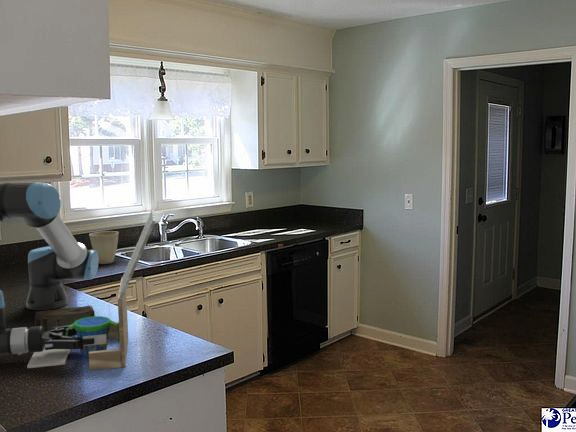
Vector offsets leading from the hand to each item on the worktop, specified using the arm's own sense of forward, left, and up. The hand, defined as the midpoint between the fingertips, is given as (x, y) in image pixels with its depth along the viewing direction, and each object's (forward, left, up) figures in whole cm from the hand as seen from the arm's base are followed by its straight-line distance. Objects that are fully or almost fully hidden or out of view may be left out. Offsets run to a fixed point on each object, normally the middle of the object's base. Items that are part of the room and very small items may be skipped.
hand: (107, 333), depth 171 cm
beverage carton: (-28, -16, -6) cm, 33 cm away
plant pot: (-136, -10, -6) cm, 136 cm away
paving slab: (0, -17, -6) cm, 18 cm away
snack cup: (0, -4, -6) cm, 8 cm away
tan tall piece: (0, +6, -6) cm, 8 cm away
